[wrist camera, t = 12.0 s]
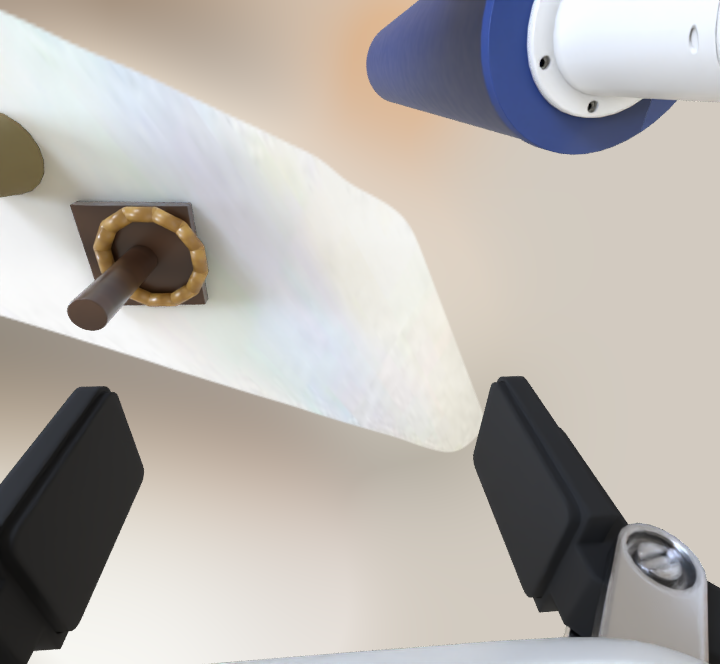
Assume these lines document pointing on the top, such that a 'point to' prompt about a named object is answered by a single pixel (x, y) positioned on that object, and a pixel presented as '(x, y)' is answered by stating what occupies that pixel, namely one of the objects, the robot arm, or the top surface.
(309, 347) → the top surface
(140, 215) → the ring
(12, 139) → the cork
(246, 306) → the top surface
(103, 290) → the rack
